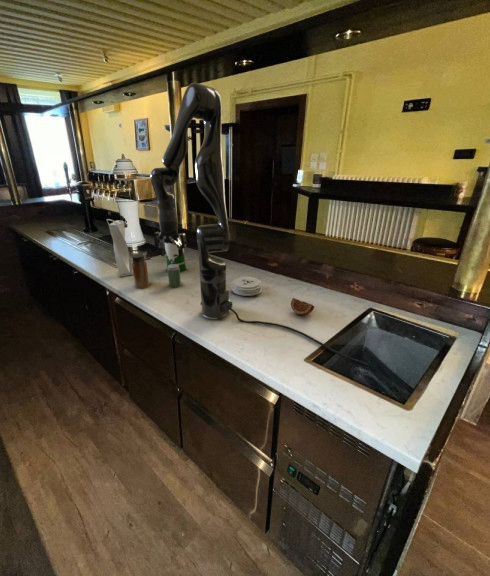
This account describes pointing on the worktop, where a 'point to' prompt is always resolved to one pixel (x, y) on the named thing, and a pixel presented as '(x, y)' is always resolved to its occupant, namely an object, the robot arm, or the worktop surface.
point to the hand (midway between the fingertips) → (171, 256)
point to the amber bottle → (140, 271)
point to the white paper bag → (121, 248)
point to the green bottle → (174, 275)
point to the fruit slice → (301, 307)
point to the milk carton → (174, 256)
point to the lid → (247, 286)
